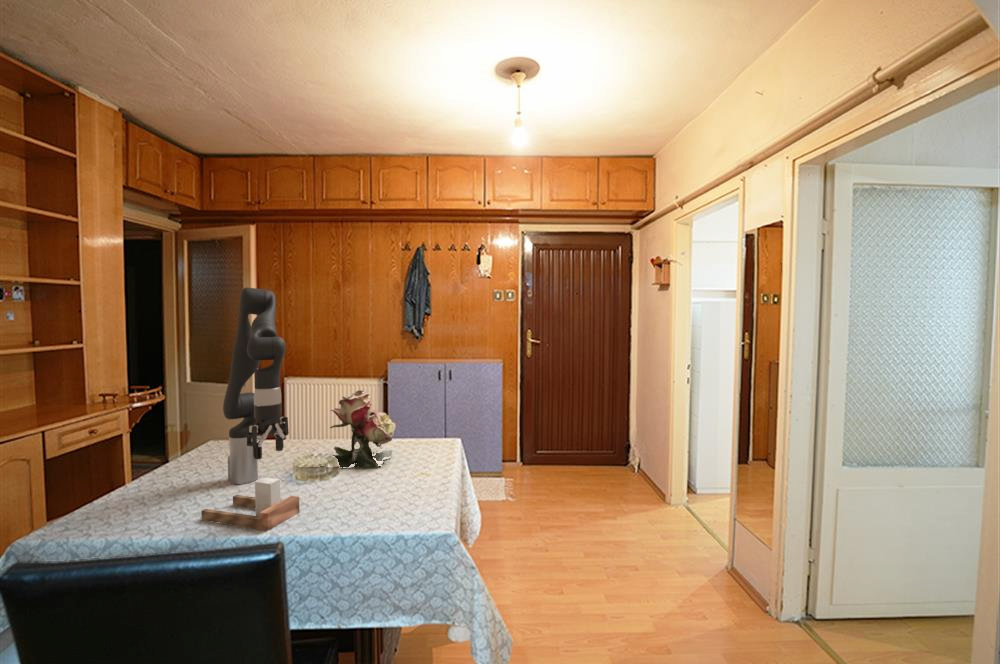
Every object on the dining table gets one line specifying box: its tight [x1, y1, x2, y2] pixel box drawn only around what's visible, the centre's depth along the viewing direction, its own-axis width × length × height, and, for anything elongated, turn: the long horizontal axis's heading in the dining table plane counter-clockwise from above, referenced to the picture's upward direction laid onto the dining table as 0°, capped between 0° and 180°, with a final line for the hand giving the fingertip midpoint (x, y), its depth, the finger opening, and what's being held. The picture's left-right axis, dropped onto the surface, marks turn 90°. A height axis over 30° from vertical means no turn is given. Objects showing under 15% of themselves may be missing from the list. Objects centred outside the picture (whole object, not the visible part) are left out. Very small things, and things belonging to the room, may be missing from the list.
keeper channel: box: [200, 494, 300, 531], centre depth 144 cm, size 25×13×5 cm, turn 74°
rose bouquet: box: [329, 389, 397, 469], centre depth 201 cm, size 26×29×30 cm
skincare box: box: [254, 477, 282, 517], centre depth 142 cm, size 6×4×12 cm
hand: (269, 454), depth 142 cm, fingers open, 8 cm apart
